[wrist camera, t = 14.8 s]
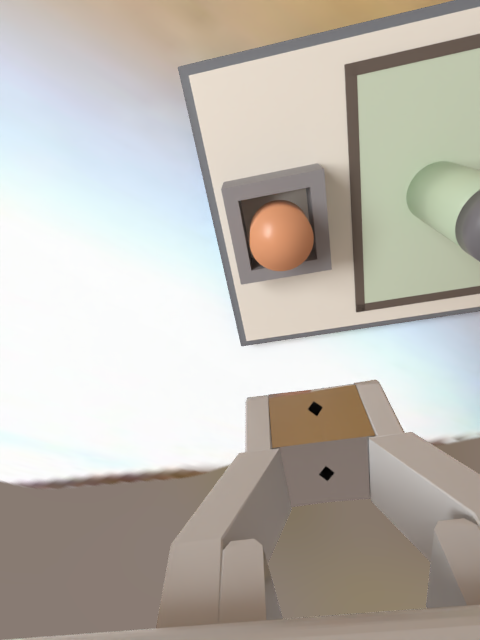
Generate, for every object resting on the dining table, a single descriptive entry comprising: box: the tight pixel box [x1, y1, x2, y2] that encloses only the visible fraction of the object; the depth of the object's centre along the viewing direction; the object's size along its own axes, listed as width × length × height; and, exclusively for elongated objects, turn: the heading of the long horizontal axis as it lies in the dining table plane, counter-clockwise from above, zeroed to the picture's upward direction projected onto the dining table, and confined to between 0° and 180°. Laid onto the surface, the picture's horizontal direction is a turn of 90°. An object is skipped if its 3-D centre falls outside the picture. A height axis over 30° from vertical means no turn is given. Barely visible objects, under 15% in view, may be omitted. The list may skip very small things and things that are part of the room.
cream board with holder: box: [178, 0, 480, 346], centre depth 22 cm, size 21×18×4 cm
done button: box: [250, 200, 314, 271], centre depth 21 cm, size 3×3×2 cm
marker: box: [406, 161, 480, 262], centre depth 19 cm, size 4×4×8 cm
